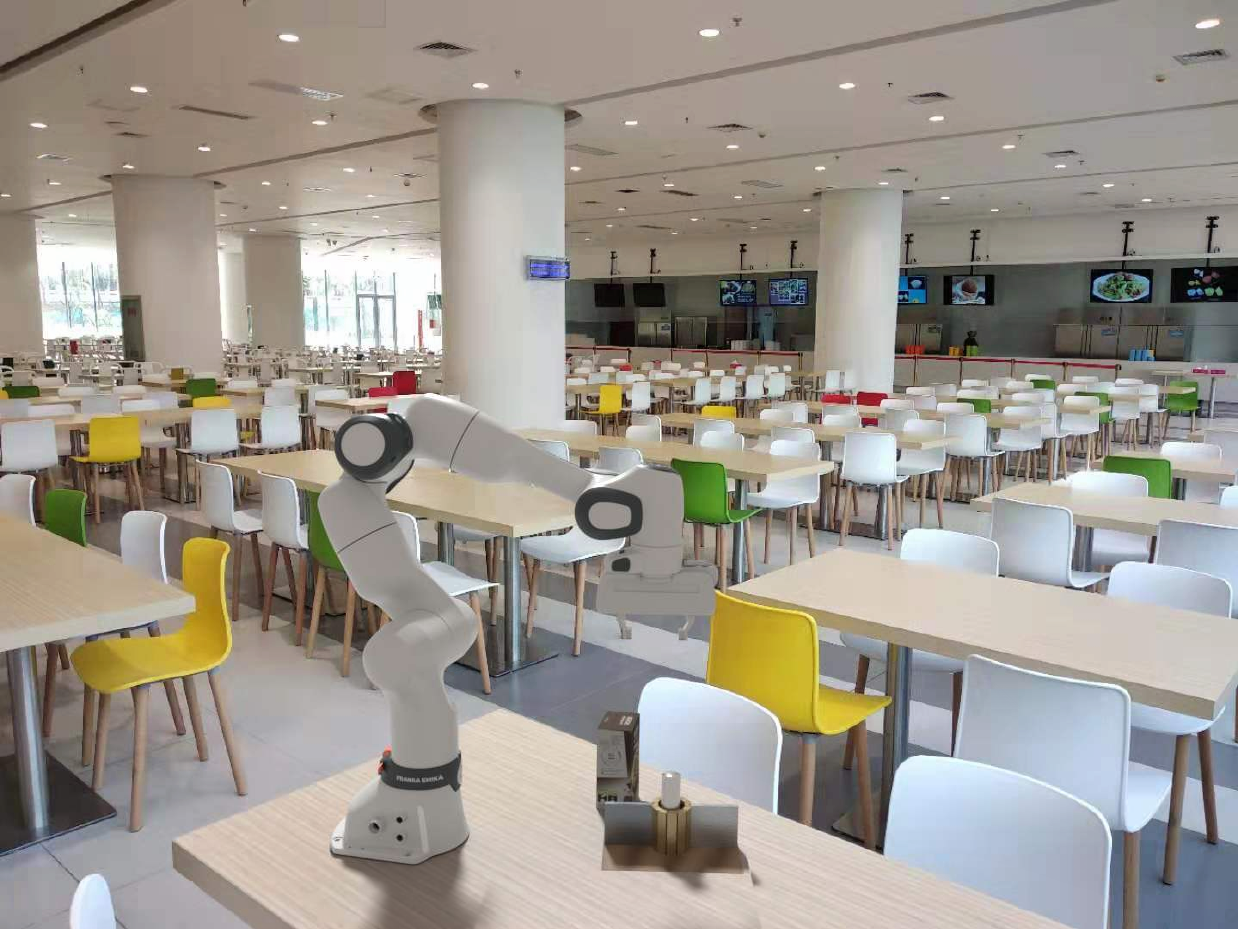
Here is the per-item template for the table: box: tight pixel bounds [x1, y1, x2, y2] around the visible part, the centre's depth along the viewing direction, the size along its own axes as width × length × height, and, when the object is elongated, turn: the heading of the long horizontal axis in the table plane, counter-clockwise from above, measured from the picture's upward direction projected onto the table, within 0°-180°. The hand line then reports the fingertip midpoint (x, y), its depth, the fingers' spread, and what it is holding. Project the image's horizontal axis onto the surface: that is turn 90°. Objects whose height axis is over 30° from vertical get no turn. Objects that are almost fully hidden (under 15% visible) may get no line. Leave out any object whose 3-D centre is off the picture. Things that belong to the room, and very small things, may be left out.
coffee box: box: [595, 710, 641, 810], centre depth 171 cm, size 9×6×16 cm
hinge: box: [603, 795, 739, 855], centre depth 155 cm, size 22×6×7 cm, turn 89°
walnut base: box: [600, 830, 744, 875], centre depth 154 cm, size 22×12×2 cm, turn 89°
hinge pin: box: [661, 770, 682, 811], centre depth 155 cm, size 3×3×12 cm
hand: (655, 639), depth 162 cm, fingers open, 8 cm apart
